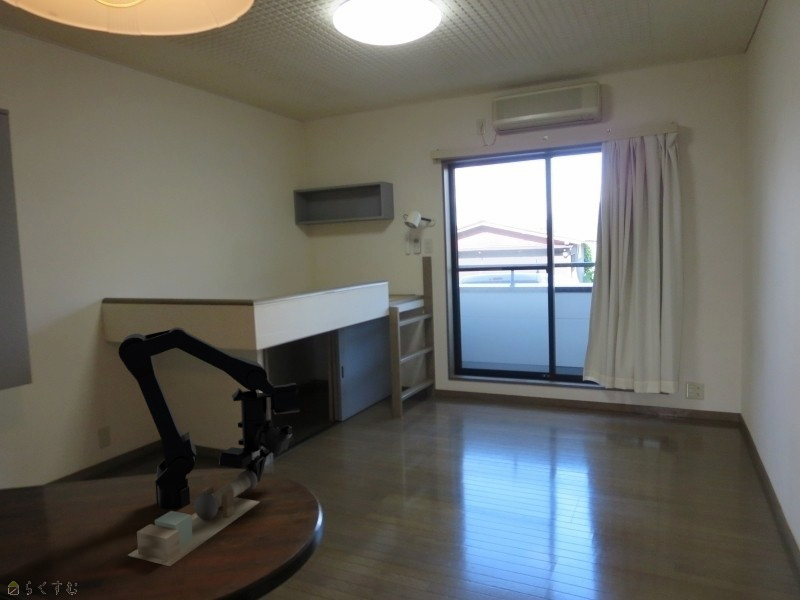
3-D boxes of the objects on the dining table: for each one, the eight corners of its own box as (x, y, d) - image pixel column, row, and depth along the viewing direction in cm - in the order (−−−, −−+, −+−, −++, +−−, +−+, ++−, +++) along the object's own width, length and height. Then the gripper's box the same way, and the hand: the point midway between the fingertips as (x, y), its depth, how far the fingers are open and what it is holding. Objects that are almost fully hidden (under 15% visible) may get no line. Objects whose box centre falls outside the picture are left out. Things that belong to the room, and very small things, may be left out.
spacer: (156, 545, 101) (154, 520, 101) (172, 535, 105) (171, 510, 104) (176, 551, 99) (175, 525, 99) (192, 540, 103) (191, 515, 103)
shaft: (194, 517, 110) (193, 493, 110) (240, 488, 124) (239, 466, 124) (214, 522, 109) (213, 497, 108) (259, 491, 122) (258, 469, 122)
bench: (127, 559, 98) (125, 528, 98) (223, 498, 122) (222, 473, 122) (170, 570, 95) (168, 538, 94) (260, 505, 119) (259, 479, 118)
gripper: (258, 433, 113) (261, 505, 114) (306, 409, 130) (307, 471, 131) (216, 427, 117) (218, 497, 118) (267, 404, 134) (269, 465, 135)
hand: (256, 482), depth 126 cm, fingers closed
